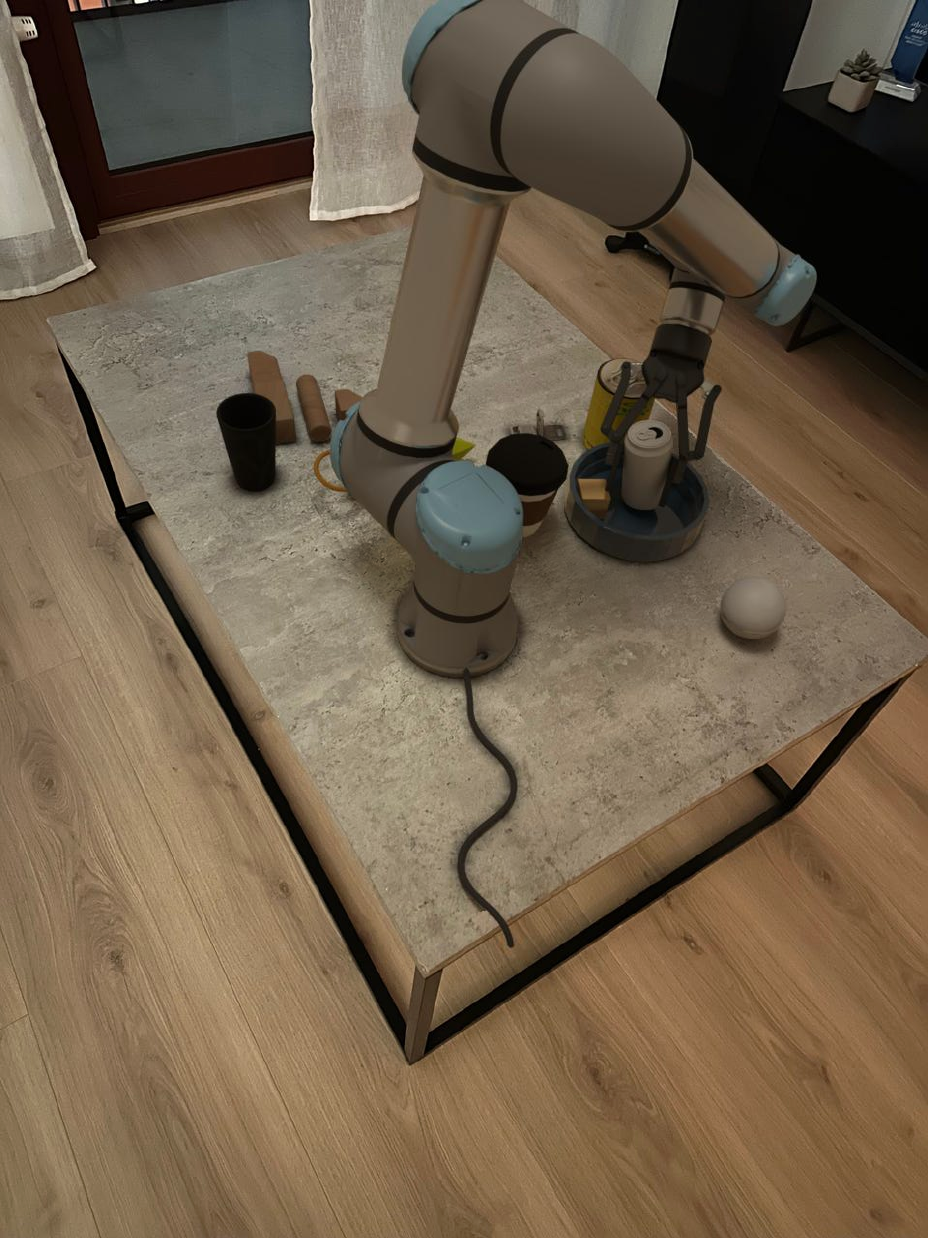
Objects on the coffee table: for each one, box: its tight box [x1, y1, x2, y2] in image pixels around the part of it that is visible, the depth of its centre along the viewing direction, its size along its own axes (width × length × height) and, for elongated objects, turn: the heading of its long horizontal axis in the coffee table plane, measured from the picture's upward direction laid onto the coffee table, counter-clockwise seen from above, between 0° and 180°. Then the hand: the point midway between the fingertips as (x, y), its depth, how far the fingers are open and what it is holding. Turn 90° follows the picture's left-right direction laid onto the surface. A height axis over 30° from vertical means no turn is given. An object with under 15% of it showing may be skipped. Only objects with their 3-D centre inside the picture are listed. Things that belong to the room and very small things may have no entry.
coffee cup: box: [485, 433, 570, 538], centre depth 121 cm, size 11×11×12 cm
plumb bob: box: [313, 436, 477, 493], centre depth 126 cm, size 9×9×25 cm
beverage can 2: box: [621, 419, 674, 510], centre depth 124 cm, size 6×6×12 cm
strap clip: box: [509, 408, 567, 441], centre depth 136 cm, size 8×3×4 cm, turn 100°
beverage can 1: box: [581, 357, 656, 451], centre depth 134 cm, size 9×9×12 cm
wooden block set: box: [246, 350, 363, 445], centre depth 136 cm, size 17×6×18 cm
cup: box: [215, 392, 277, 493], centre depth 123 cm, size 8×8×12 cm
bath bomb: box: [720, 576, 787, 640], centre depth 115 cm, size 8×8×8 cm
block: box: [576, 479, 610, 519], centre depth 126 cm, size 4×4×4 cm
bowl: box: [563, 440, 711, 563], centre depth 127 cm, size 20×20×5 cm
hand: (634, 498), depth 122 cm, fingers closed on beverage can 2, 7 cm apart
